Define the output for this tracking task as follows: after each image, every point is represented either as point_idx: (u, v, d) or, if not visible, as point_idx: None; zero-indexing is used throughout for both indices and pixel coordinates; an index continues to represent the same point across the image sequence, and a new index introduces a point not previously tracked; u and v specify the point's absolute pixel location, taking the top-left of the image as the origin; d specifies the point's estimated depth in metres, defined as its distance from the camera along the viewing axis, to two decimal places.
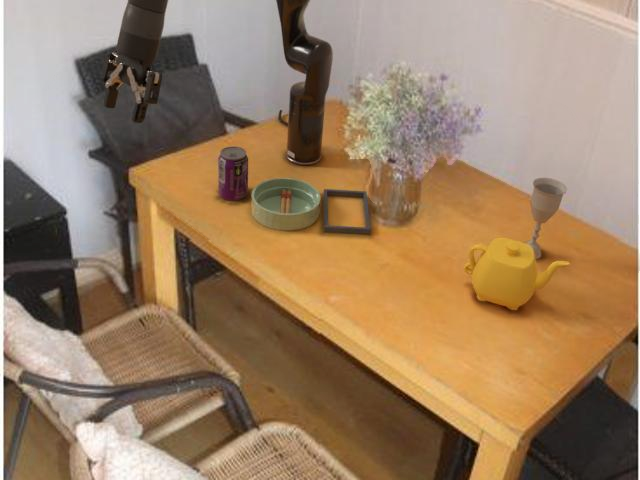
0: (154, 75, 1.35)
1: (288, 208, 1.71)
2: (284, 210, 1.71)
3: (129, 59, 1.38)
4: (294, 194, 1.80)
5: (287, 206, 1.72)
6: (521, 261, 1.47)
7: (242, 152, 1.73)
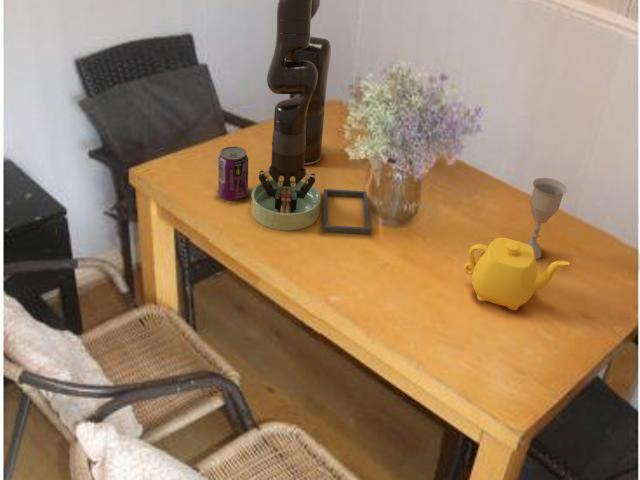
0: None
1: (288, 208, 1.71)
2: (284, 210, 1.71)
3: None
4: None
5: (287, 206, 1.72)
6: (521, 261, 1.47)
7: (242, 152, 1.73)
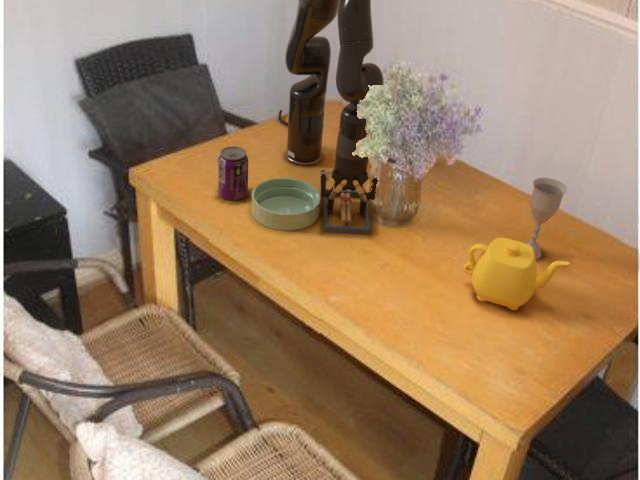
0: None
1: (349, 211, 1.72)
2: (345, 213, 1.72)
3: None
4: (294, 194, 1.80)
5: (348, 209, 1.73)
6: (521, 261, 1.47)
7: (242, 152, 1.73)
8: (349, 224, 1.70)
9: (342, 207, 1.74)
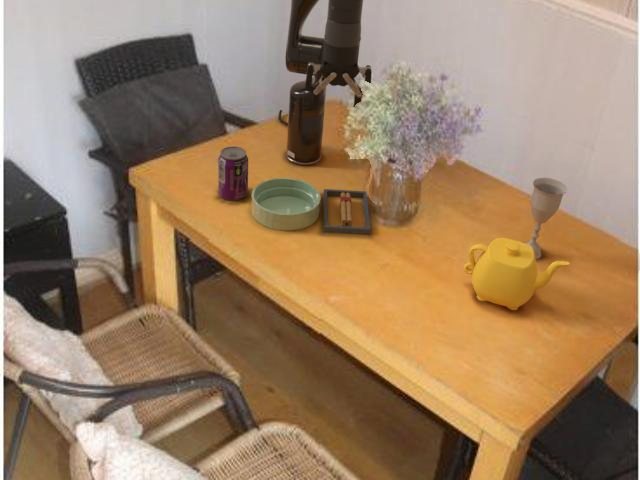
0: None
1: (349, 211, 1.72)
2: (345, 213, 1.72)
3: (339, 65, 1.56)
4: (294, 194, 1.80)
5: (348, 209, 1.73)
6: (521, 261, 1.47)
7: (242, 152, 1.73)
8: (349, 224, 1.70)
9: (342, 207, 1.74)
